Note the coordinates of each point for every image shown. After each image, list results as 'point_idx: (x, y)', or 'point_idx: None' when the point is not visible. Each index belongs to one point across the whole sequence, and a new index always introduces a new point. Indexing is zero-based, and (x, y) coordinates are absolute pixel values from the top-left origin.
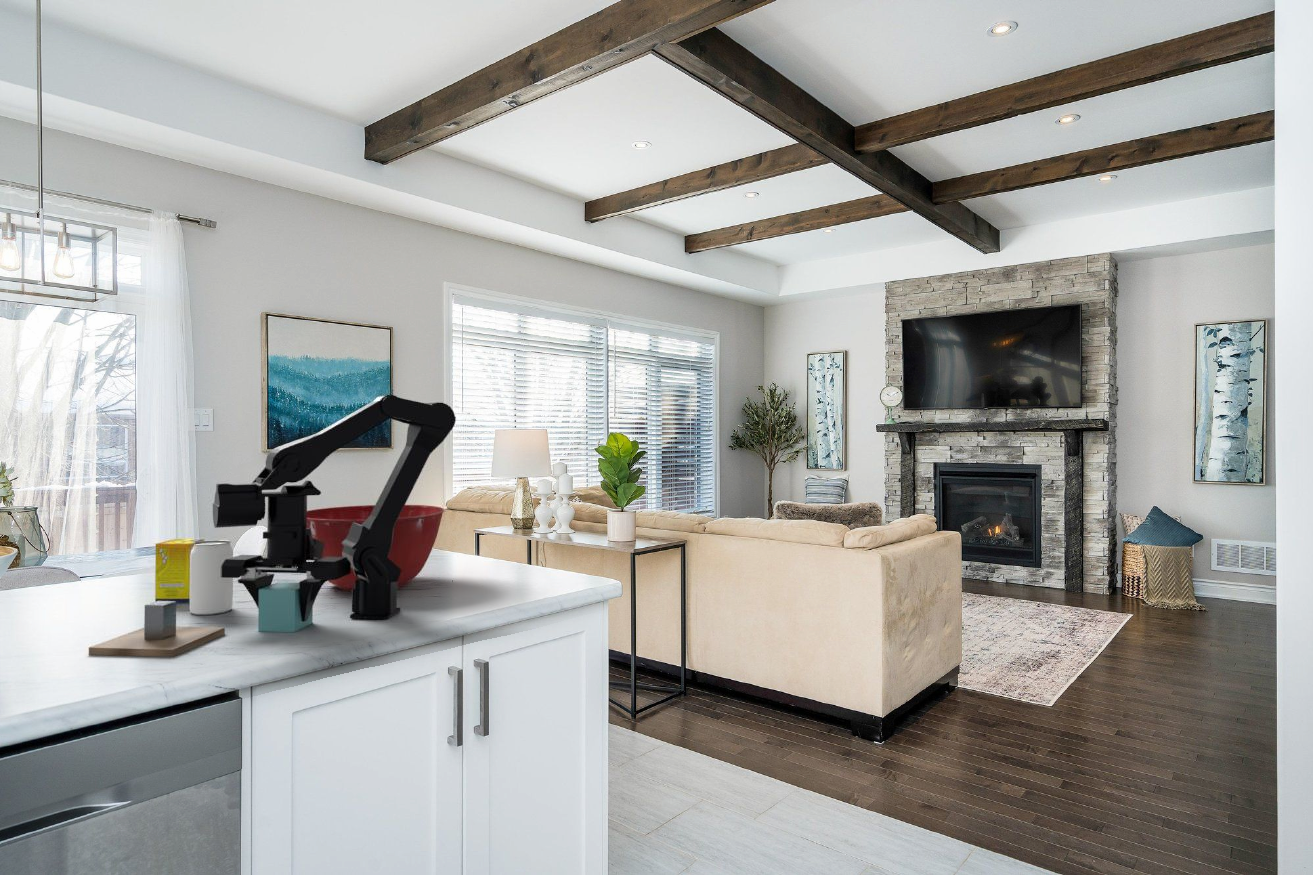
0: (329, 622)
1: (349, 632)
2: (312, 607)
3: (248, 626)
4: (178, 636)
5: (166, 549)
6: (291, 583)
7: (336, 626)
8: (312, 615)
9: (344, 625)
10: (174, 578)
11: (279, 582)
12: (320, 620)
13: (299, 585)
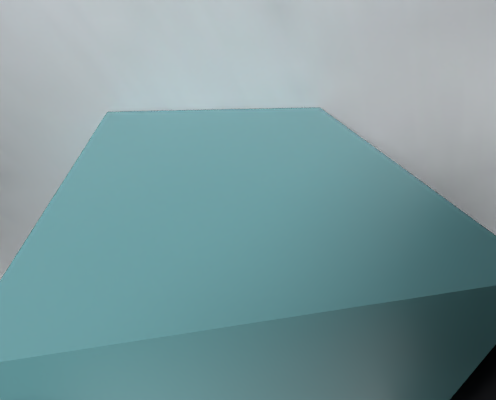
0: (403, 83)
1: (481, 221)
2: (364, 144)
3: (14, 218)
4: None
5: None
6: (268, 364)
7: (439, 153)
8: (337, 121)
9: (471, 132)
10: None
11: (4, 379)
12: (347, 38)
13: (400, 393)
